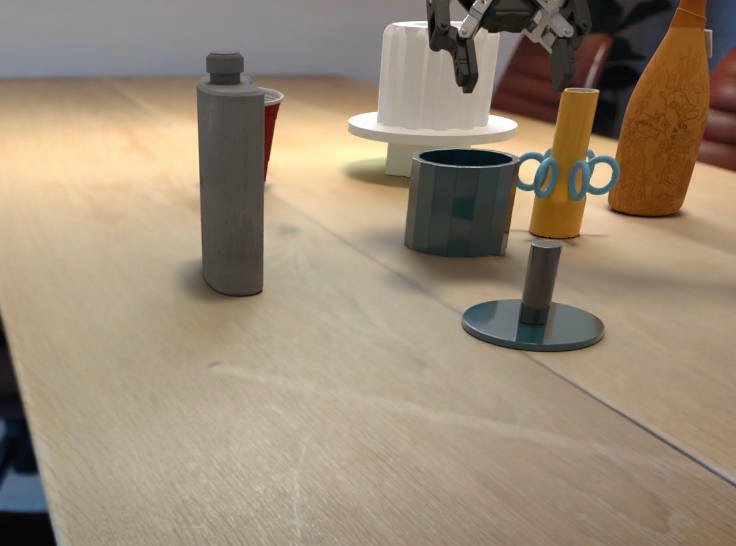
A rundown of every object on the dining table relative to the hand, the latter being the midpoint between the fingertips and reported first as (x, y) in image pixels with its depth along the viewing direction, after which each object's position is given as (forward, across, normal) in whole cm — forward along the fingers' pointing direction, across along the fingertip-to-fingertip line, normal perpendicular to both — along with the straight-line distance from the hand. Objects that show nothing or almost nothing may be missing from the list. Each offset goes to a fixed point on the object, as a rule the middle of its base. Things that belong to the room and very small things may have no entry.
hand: (517, 86), depth 80 cm
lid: (+20, 0, +4) cm, 21 cm away
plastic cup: (-25, -17, +51) cm, 59 cm away
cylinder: (-3, +17, +29) cm, 33 cm away
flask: (+6, -25, +20) cm, 32 cm away
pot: (+1, +2, +25) cm, 25 cm away
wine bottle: (-10, +33, +36) cm, 50 cm away
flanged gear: (-30, +12, +56) cm, 64 cm away
